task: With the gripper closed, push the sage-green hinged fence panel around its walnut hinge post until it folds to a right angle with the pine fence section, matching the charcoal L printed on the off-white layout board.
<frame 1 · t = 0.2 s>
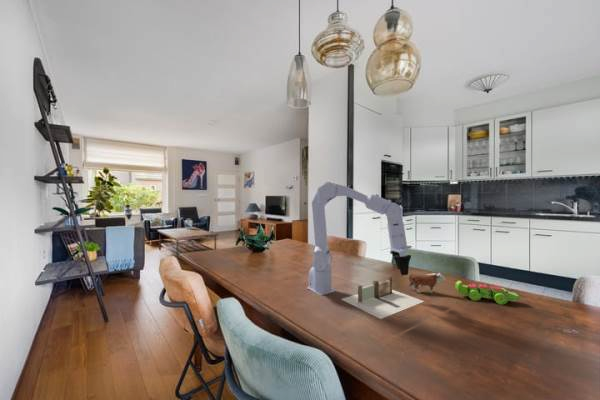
hand: (402, 271, 93), 11 cm above the table, tool pointing down, fingers open, 7 cm apart
bull figurine: (426, 292, 101), on the table
hinged panel: (366, 291, 92), point 4 cm above the table, hinge at 0.0°
toy crocodile: (485, 300, 94), on the table
layout board: (382, 301, 92), on the table
fixed fence: (375, 297, 95), resting on layout board
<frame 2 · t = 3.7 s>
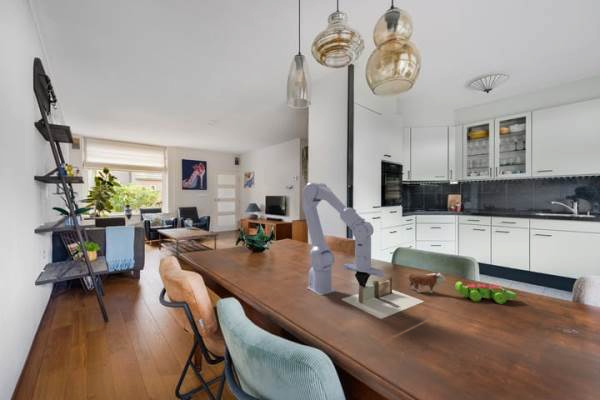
hand: (362, 292, 92), 3 cm above the table, tool pointing down, fingers closed, pressing on hinged panel
hinged panel: (366, 292, 92), point 4 cm above the table, hinge at 2.1°, touching gripper
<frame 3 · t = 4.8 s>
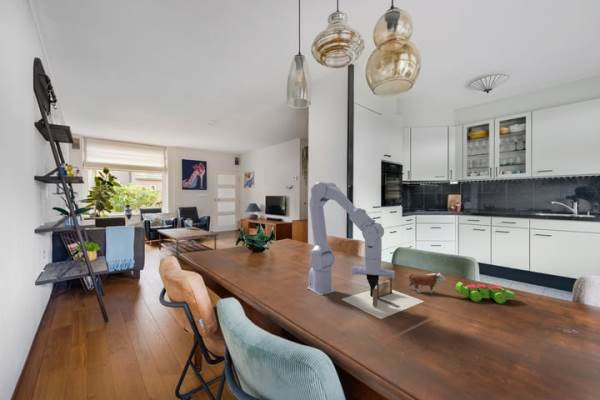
hand: (372, 295, 89), 3 cm above the table, tool pointing down, fingers closed, pressing on hinged panel
hinged panel: (375, 294, 90), point 4 cm above the table, hinge at 37.9°, touching gripper
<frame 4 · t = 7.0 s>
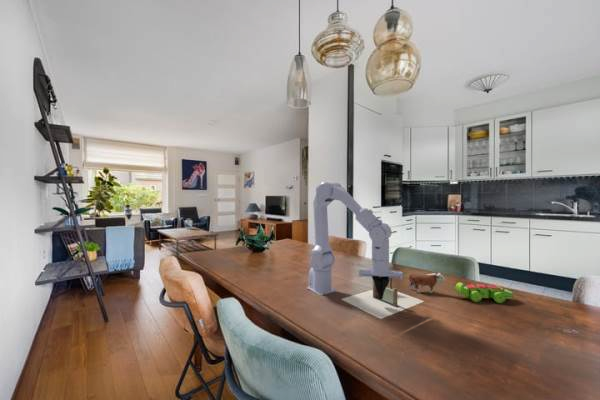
hand: (380, 297, 88), 3 cm above the table, tool pointing down, fingers closed
hinged panel: (387, 293, 90), point 4 cm above the table, hinge at 90.9°
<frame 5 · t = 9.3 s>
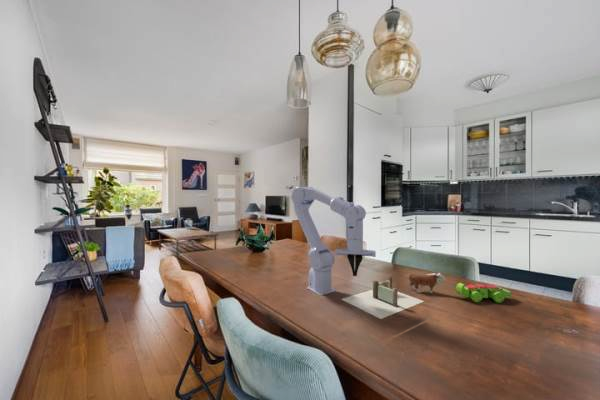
hand: (354, 275, 93), 9 cm above the table, tool pointing down, fingers closed
at the end: hinged panel at +91° (first picture: +0°) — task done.
